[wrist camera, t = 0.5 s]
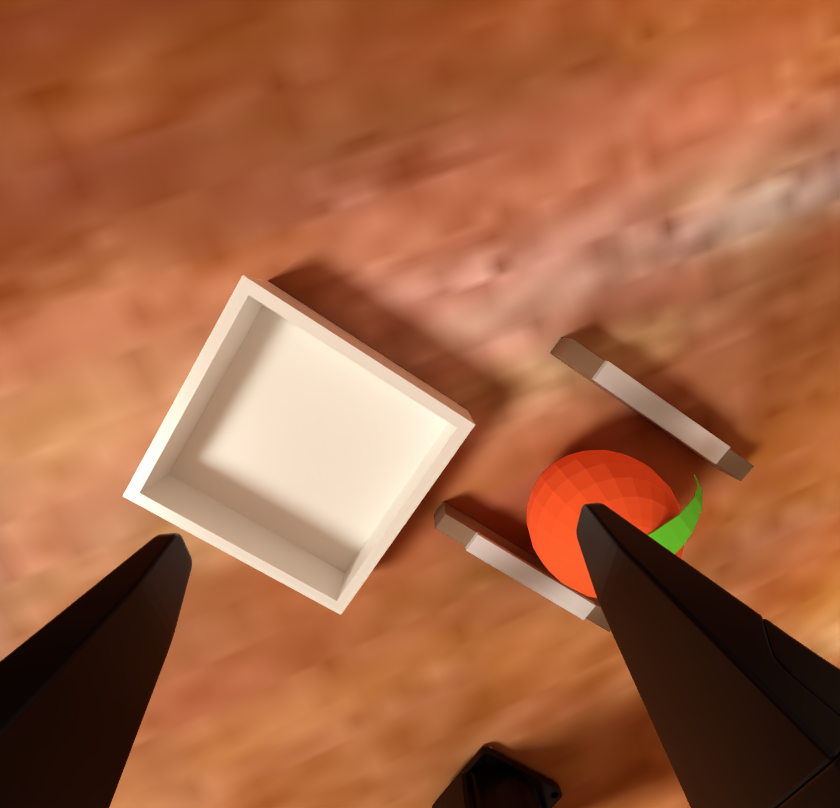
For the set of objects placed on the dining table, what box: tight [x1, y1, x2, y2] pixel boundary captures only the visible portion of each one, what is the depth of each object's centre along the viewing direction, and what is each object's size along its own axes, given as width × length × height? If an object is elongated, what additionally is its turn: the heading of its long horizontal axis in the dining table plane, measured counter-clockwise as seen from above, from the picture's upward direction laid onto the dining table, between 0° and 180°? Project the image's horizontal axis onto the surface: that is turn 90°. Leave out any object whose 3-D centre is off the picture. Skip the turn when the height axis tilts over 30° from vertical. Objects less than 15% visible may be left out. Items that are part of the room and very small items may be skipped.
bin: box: [123, 275, 475, 615], centre depth 21 cm, size 12×12×3 cm
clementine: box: [527, 450, 702, 598], centre depth 20 cm, size 8×7×7 cm
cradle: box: [434, 337, 754, 632], centre depth 22 cm, size 12×12×2 cm
